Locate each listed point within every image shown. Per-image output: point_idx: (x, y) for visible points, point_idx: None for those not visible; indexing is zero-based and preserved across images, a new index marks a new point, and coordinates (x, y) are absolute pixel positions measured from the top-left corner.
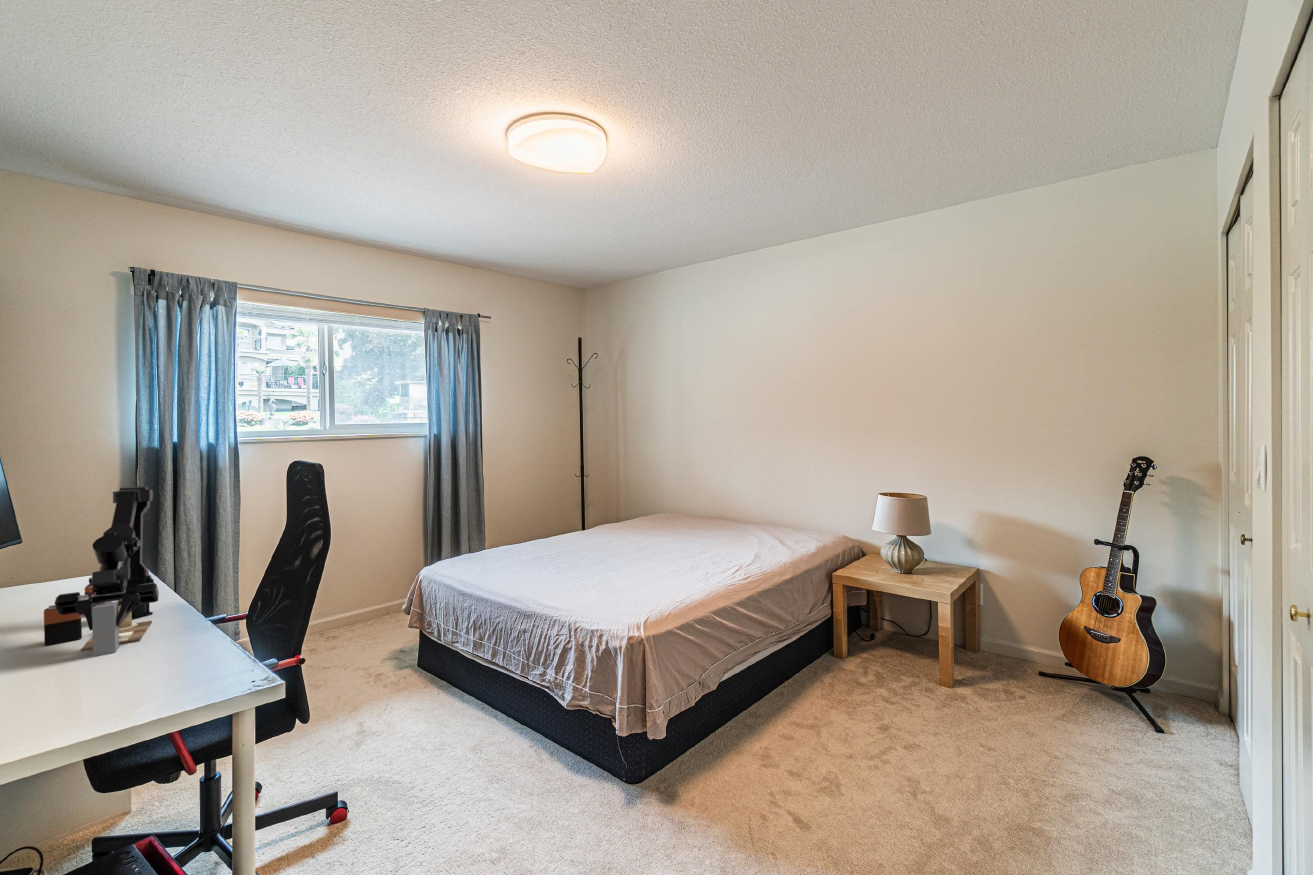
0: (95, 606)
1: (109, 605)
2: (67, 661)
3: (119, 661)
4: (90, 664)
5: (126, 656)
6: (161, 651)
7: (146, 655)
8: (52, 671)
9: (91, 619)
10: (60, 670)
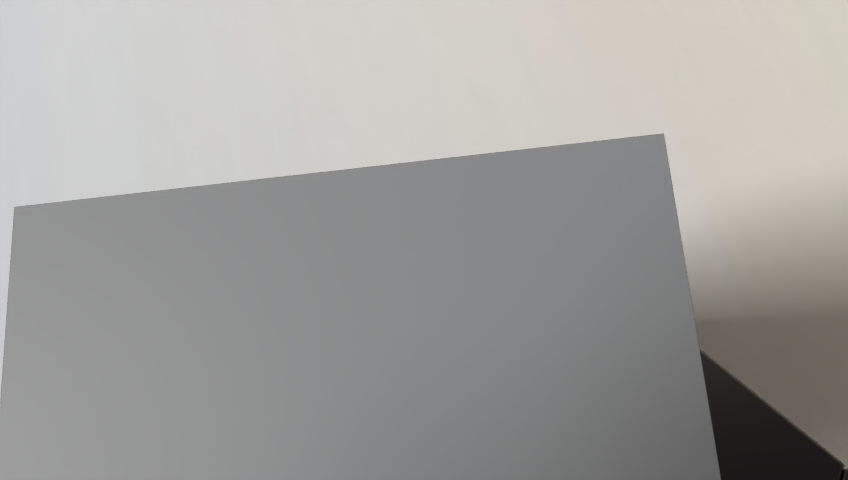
0: (637, 391)
1: (156, 255)
2: (746, 291)
3: (284, 35)
4: (490, 73)
5: (260, 151)
6: (24, 142)
7: (117, 90)
8: (747, 33)
9: None
10: (686, 28)
